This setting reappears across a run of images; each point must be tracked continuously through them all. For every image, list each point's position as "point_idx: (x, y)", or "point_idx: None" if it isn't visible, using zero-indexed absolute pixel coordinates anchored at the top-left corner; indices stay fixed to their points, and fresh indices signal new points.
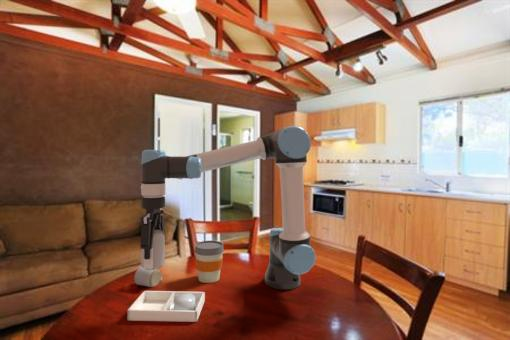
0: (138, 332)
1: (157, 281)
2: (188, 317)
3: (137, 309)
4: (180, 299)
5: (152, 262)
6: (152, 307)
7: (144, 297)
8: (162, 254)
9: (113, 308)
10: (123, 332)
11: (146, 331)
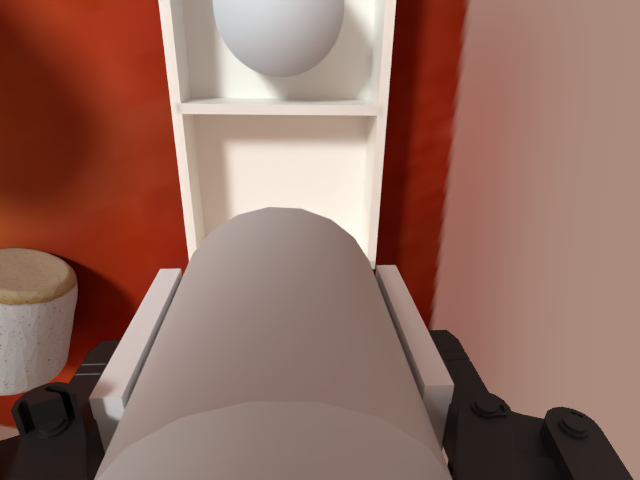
0: (430, 178)
1: (21, 257)
2: None
3: None
4: (292, 33)
5: (397, 290)
6: (266, 188)
7: None
8: (312, 256)
9: None
10: (425, 232)
11: (426, 149)
